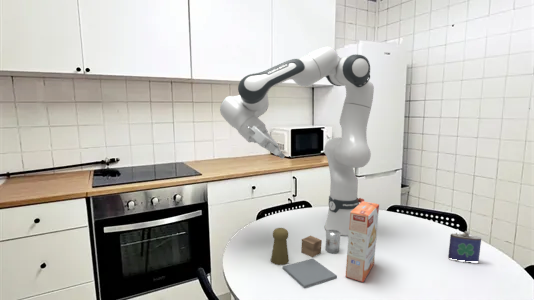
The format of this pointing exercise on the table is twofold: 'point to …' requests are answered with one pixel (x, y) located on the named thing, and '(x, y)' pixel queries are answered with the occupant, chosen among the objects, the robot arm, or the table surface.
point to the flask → (464, 247)
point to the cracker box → (362, 240)
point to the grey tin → (332, 241)
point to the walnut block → (311, 246)
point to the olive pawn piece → (280, 247)
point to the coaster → (309, 273)
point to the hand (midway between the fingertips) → (280, 155)
